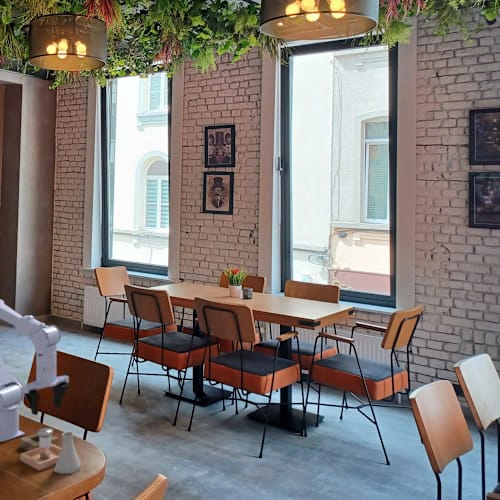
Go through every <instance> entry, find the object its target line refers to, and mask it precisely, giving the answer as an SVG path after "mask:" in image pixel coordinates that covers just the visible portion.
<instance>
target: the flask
mask: <svg viewBox="0 0 500 500" xmlns="http://www.w3.org/2000/svg"><path fill="white" fill-rule="evenodd" d="M74 434H75V432H72V431H65V432H63V433H61V437H62V443H61V444H62V445H61V447H60V448H61V451H60V454H59V457H58V460H57V463H56V465H54V469H53V472H54V473H58V474H61V475H63V474H74V473H76V472H77V471H80V470H81V466H82V463H81V461H80V458H79V456H78V453H77V450H76V448H75V445H74V443H75V442H74V440H73V439H74Z"/></svg>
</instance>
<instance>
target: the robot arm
mask: <svg viewBox="0 0 500 500" xmlns="http://www.w3.org/2000/svg"><path fill="white" fill-rule="evenodd" d="M0 320H2V321H5V322H7V323H9V324H11V325H12V326H15V329H16V331H17V332H18V333H19V334H20V335H22V336H24V337H26V338H27V339H29V340H31V341H32V345H33V346H34V352H35V353H36V362H35V363H36V364H35V365H36V369H35V370H36V372H35V373H36V380H34V381H32V382H29V383H27V384H24V385H21V383H20V382H19V381H18V379H17V377H15V376H13V375H10V374H9V371H8V370H7V367H6V365H5V363H4V360H3V358H2V357H3V356H2V355H1V354H0V442H1V443H2V442H6V441H9V440H11V439H15V438H18V437H21V436H25V434H26V433H25V432H23V431H22V430H19V429H20V423H19V422H20V412H19V411H20V408H19V407H20V406H21V403H22V401H23V400H24V398H26V400H27V401H28V404H29V406H30V411H31V414H32V415H35V416H37V415H38V414H39V400H40V397H41V393H39V392H38V390H42V389H46V388H50V387H52V390H53V406H54V408H56V409H60V408H61V406H62V402H63V399H64V396H65V394H66V392H67V390H68V389H69V385H68V383H70V377H69V376H68V375H60V376H57V352H58V351H57V348H58V347H57V346H58V345H57V344H58V343H59V342H60V341H61V338H62V335H61V334H62V333H61V331H60V329H59V328H58V327H57V326H56V325H46V324H45V322H41V321H39V320H37V319H35V316H33V315H24V316H22V315H21V314H20V313H18V312H16V311H15V310H14V309H12V308H11V307H9V306H8V305H6V304H5V302H4V300H3V299H0Z"/></svg>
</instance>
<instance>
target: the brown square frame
mask: <svg viewBox="0 0 500 500" xmlns="http://www.w3.org/2000/svg"><path fill="white" fill-rule="evenodd" d="M59 441H60V439H59V437H58V436H56V435H53V434H52V435H51V444H53V445H56V446H58V447H60V442H59ZM39 447H40V444H39V436H38V432H36V433H34V434H31V435H28V436H24V437H21V438H19V448H20V449H23V450H24V451H26V452H27V451H30V450H33V449H36V448H39Z"/></svg>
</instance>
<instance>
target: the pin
mask: <svg viewBox="0 0 500 500" xmlns="http://www.w3.org/2000/svg"><path fill="white" fill-rule="evenodd" d="M37 433H38V436H39V444H40V459H41V460H47V459H50V458H51V435H53V434H54V428H51V427H45V428H40V429H38V430H37Z"/></svg>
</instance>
